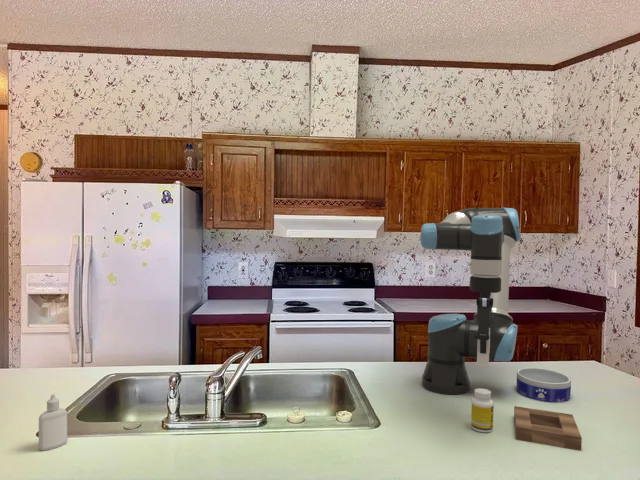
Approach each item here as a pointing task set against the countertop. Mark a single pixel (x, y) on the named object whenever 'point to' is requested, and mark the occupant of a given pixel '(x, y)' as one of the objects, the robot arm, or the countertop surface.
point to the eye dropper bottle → (52, 426)
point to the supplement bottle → (482, 411)
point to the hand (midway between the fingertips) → (483, 358)
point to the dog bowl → (543, 384)
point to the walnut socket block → (547, 427)
